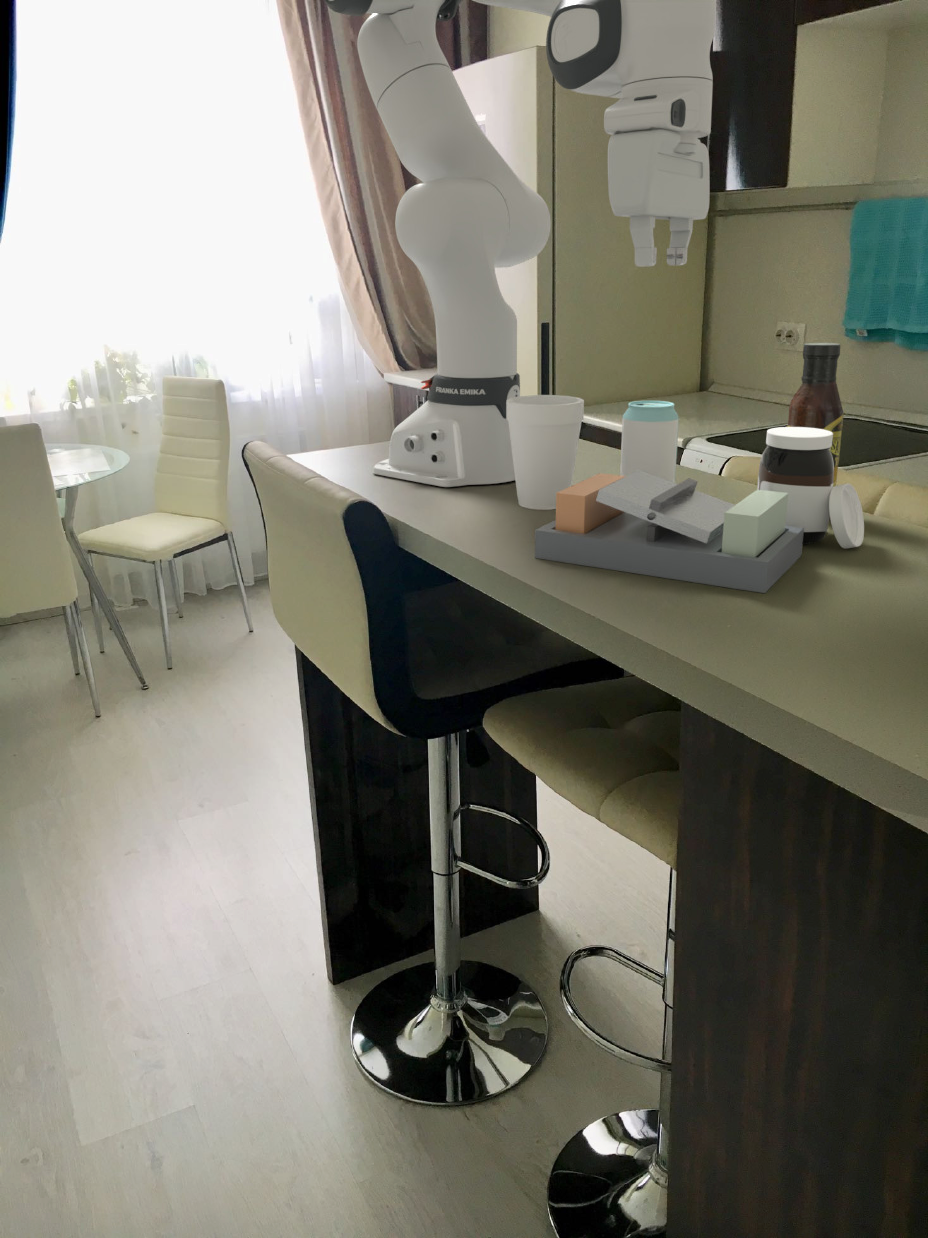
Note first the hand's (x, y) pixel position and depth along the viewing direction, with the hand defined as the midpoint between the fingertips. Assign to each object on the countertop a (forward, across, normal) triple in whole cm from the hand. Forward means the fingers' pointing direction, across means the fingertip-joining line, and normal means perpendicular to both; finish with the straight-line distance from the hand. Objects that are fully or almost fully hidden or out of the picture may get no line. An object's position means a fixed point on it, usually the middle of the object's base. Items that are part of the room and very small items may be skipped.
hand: (661, 265), depth 104 cm
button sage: (+26, +8, +13) cm, 30 cm away
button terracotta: (+26, +8, -4) cm, 27 cm away
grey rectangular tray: (+29, +8, +4) cm, 30 cm away
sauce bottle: (+29, -18, +13) cm, 37 cm away
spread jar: (+29, -6, +16) cm, 34 cm away
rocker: (+23, +8, +4) cm, 25 cm away
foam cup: (+28, -8, -18) cm, 34 cm away
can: (+28, -17, -7) cm, 34 cm away
